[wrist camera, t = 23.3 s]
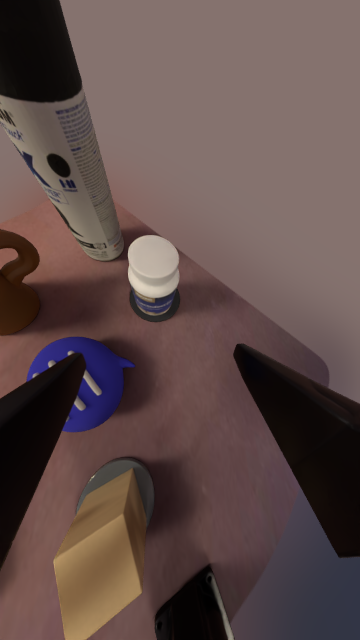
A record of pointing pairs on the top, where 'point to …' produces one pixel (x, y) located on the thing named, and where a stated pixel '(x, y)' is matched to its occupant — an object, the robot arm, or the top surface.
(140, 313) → the coaster
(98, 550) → the block
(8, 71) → the spray can
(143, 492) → the coaster
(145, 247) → the pill bottle
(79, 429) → the decorative object
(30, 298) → the mug
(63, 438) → the top surface
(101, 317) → the top surface
